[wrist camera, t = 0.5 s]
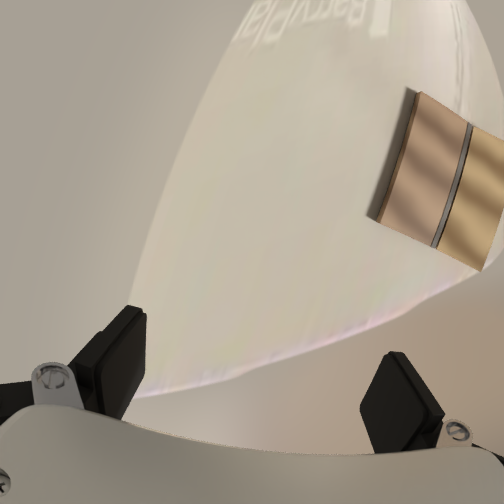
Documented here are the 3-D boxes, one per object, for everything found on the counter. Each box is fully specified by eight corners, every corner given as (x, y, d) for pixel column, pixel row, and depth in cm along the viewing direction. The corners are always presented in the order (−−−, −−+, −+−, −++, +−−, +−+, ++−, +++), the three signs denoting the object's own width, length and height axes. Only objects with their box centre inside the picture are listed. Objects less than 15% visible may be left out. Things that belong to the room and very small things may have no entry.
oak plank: (472, 129, 34) (473, 126, 32) (514, 150, 30) (516, 148, 29) (435, 249, 39) (436, 249, 37) (478, 270, 35) (480, 272, 34)
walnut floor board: (416, 93, 33) (421, 91, 32) (466, 126, 34) (472, 125, 32) (375, 221, 38) (380, 223, 37) (430, 246, 39) (435, 248, 37)
